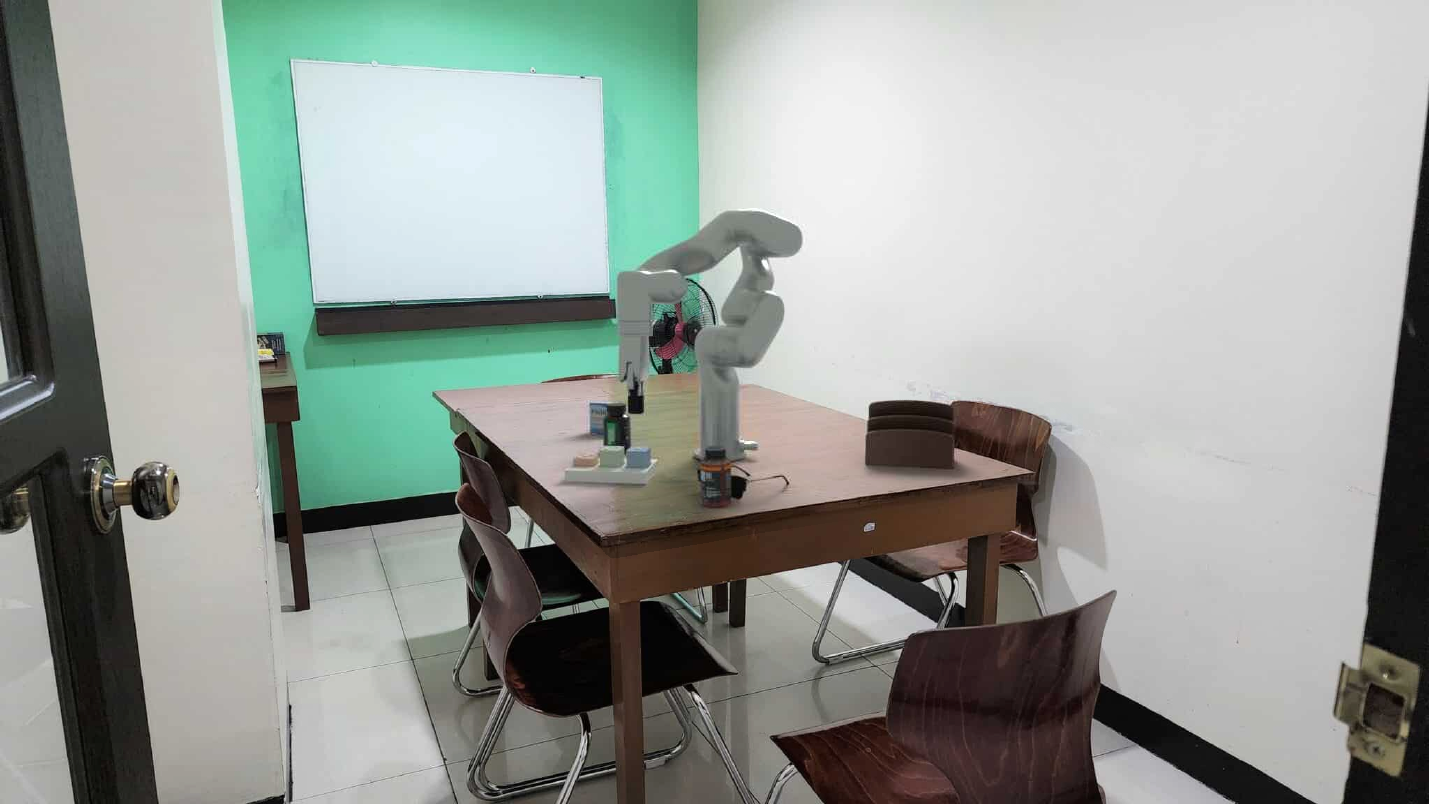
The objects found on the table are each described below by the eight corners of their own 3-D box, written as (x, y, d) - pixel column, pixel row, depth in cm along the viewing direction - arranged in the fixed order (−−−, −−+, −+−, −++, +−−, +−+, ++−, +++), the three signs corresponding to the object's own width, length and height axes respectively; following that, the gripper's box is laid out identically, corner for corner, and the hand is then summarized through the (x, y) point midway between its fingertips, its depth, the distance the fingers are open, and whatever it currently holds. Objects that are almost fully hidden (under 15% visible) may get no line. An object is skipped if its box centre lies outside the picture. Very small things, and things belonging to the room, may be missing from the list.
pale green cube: (624, 463, 193) (624, 445, 192) (619, 468, 188) (619, 449, 188) (605, 463, 193) (604, 445, 193) (599, 468, 189) (599, 449, 188)
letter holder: (867, 455, 209) (868, 398, 206) (952, 459, 204) (955, 400, 202) (864, 465, 199) (865, 405, 197) (953, 469, 195) (956, 408, 192)
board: (658, 470, 196) (658, 459, 195) (646, 484, 184) (646, 472, 184) (581, 467, 198) (581, 457, 198) (564, 481, 187) (564, 470, 186)
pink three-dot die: (598, 471, 194) (598, 453, 193) (593, 476, 190) (592, 458, 189) (579, 471, 194) (579, 453, 194) (573, 476, 190) (573, 457, 190)
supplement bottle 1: (613, 456, 210) (612, 407, 208) (598, 451, 215) (596, 404, 213) (636, 452, 214) (635, 404, 212) (621, 447, 219) (620, 400, 217)
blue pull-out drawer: (650, 464, 192) (650, 446, 191) (646, 469, 187) (646, 450, 187) (631, 464, 192) (631, 445, 192) (626, 468, 188) (626, 450, 187)
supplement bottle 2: (730, 499, 172) (730, 444, 170) (732, 508, 166) (732, 450, 164) (700, 500, 172) (700, 444, 170) (701, 508, 166) (700, 451, 164)
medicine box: (589, 434, 236) (588, 402, 235) (596, 430, 240) (595, 400, 239) (616, 435, 234) (615, 404, 232) (622, 432, 238) (621, 401, 237)
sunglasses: (695, 491, 180) (696, 467, 179) (744, 480, 192) (745, 458, 191) (746, 503, 171) (747, 478, 170) (794, 491, 183) (795, 468, 182)
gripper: (626, 326, 193) (627, 407, 195) (608, 331, 178) (610, 419, 181) (659, 326, 191) (660, 408, 194) (644, 331, 177) (645, 420, 180)
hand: (636, 413), depth 188 cm, fingers closed
